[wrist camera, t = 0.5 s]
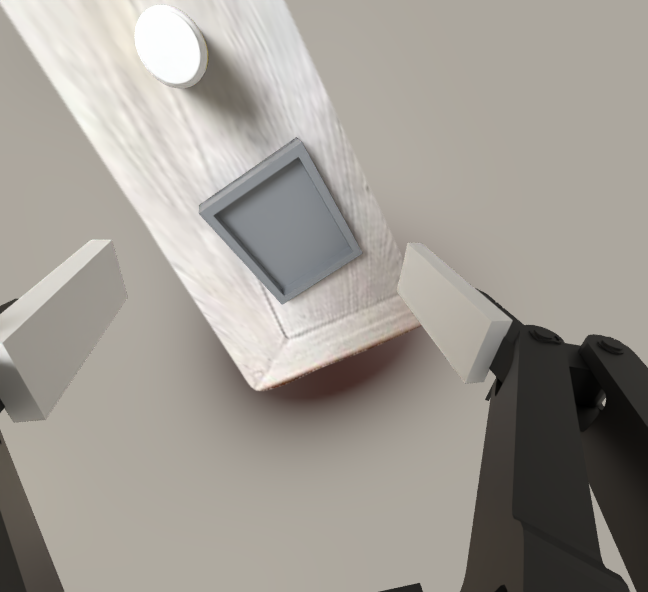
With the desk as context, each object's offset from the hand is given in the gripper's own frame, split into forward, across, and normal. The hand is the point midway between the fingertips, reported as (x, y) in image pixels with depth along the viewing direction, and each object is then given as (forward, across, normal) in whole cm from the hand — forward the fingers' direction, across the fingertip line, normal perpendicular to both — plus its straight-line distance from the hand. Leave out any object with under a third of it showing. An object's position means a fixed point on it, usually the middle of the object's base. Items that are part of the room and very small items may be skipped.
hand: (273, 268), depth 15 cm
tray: (+25, +3, -6) cm, 26 cm away
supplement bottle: (+23, -7, +10) cm, 26 cm away
